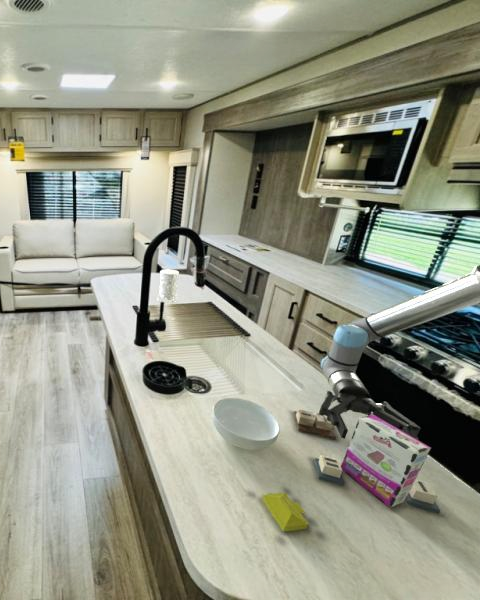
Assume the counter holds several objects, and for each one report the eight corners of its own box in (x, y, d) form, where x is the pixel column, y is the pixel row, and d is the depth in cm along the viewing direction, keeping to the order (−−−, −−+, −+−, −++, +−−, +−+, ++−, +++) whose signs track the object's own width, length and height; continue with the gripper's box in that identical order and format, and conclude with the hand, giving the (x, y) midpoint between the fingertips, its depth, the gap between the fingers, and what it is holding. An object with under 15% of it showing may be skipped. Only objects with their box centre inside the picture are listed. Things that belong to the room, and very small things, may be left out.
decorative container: (167, 295, 199) (169, 268, 193) (181, 300, 190) (183, 272, 183) (153, 298, 194) (155, 270, 188) (166, 304, 185) (169, 275, 178)
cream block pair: (327, 421, 95) (330, 411, 94) (335, 439, 88) (339, 429, 87) (293, 413, 98) (295, 403, 97) (298, 430, 91) (301, 421, 90)
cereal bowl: (207, 447, 86) (210, 427, 84) (211, 409, 100) (214, 391, 98) (278, 469, 80) (284, 448, 77) (271, 425, 94) (276, 406, 91)
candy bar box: (405, 502, 71) (433, 448, 65) (390, 509, 70) (418, 454, 64) (352, 463, 81) (372, 412, 75) (338, 468, 80) (358, 417, 74)
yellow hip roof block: (251, 494, 73) (254, 486, 72) (288, 490, 74) (291, 482, 73) (281, 540, 64) (284, 531, 63) (322, 535, 65) (326, 526, 64)
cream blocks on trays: (424, 490, 74) (430, 479, 72) (438, 513, 68) (445, 502, 67) (312, 460, 82) (316, 449, 81) (318, 479, 77) (322, 468, 75)
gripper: (399, 410, 89) (444, 471, 71) (296, 390, 98) (313, 439, 80) (408, 389, 86) (458, 446, 68) (302, 370, 95) (320, 415, 77)
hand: (379, 442), depth 74 cm, fingers open, 13 cm apart
